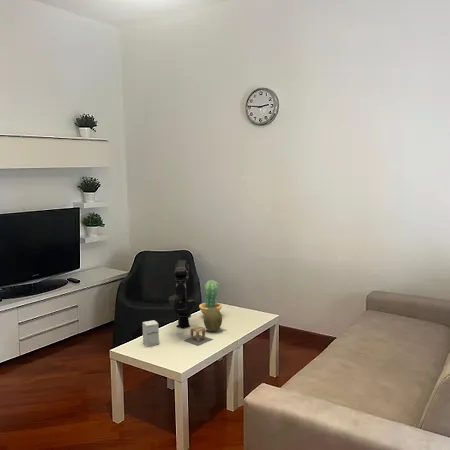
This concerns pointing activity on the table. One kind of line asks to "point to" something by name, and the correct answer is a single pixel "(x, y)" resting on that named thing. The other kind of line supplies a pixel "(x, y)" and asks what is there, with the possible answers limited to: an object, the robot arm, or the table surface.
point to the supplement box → (150, 333)
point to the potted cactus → (210, 296)
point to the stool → (197, 332)
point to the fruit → (212, 319)
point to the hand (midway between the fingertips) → (182, 314)
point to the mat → (199, 340)
